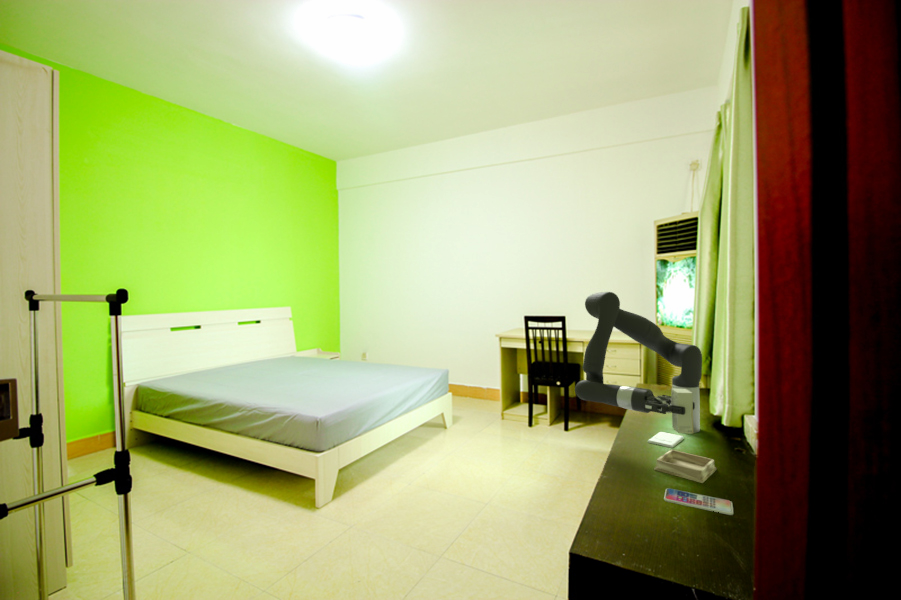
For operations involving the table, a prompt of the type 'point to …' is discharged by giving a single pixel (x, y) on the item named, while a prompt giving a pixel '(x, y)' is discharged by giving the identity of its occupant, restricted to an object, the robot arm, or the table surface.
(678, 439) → the external hard drive
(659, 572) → the table surface
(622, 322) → the robot arm
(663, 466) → the wooden tray
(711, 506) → the smartphone
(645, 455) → the table surface
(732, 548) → the table surface
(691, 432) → the skincare box
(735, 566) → the table surface
